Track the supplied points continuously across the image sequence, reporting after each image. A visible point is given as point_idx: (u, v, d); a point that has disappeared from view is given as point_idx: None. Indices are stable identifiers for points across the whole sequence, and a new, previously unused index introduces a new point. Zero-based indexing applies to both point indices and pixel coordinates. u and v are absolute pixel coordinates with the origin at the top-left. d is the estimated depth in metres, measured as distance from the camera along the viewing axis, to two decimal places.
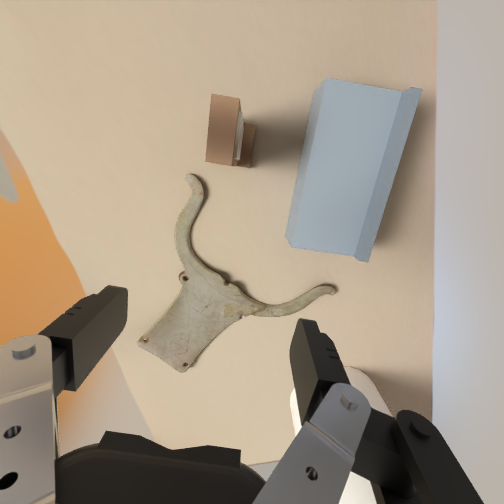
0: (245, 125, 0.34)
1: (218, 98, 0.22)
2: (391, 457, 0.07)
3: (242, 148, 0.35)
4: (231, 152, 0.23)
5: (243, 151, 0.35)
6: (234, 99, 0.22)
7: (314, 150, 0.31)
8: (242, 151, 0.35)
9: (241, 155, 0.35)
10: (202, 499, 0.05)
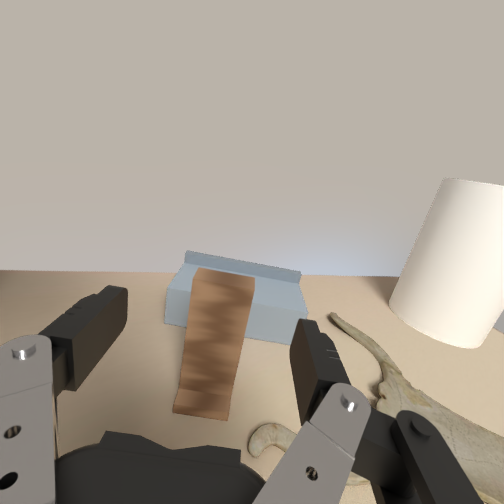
0: None
1: (197, 275, 0.23)
2: (391, 457, 0.07)
3: None
4: (243, 276, 0.25)
5: None
6: (199, 269, 0.24)
7: None
8: None
9: None
10: (202, 499, 0.05)
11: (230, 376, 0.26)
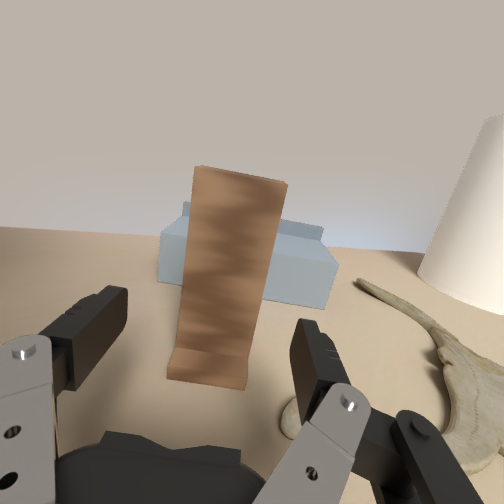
0: None
1: (201, 167, 0.15)
2: (391, 457, 0.07)
3: None
4: (267, 178, 0.17)
5: None
6: (203, 166, 0.17)
7: None
8: None
9: None
10: (202, 499, 0.05)
11: (247, 327, 0.18)
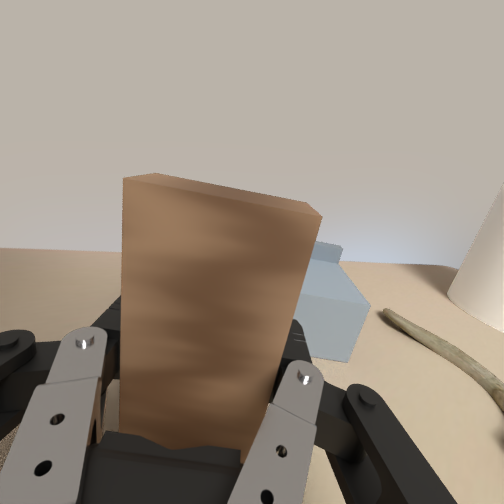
0: None
1: (142, 178, 0.07)
2: (339, 425, 0.08)
3: None
4: (276, 197, 0.09)
5: None
6: (155, 174, 0.09)
7: None
8: None
9: None
10: (202, 499, 0.05)
11: None
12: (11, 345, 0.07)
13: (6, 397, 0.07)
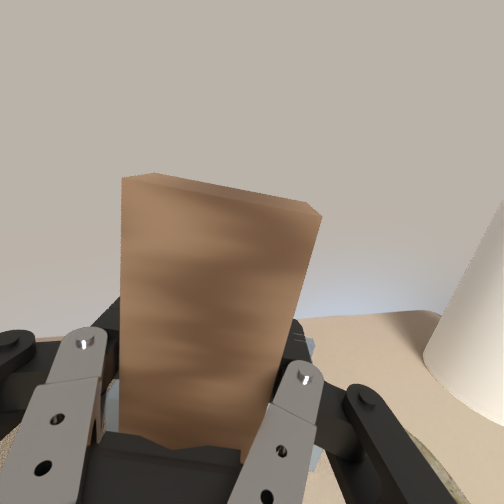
0: None
1: (141, 178, 0.07)
2: (339, 425, 0.08)
3: None
4: (275, 197, 0.09)
5: None
6: (154, 174, 0.09)
7: None
8: None
9: None
10: (202, 499, 0.05)
11: None
12: (11, 345, 0.07)
13: (6, 397, 0.07)
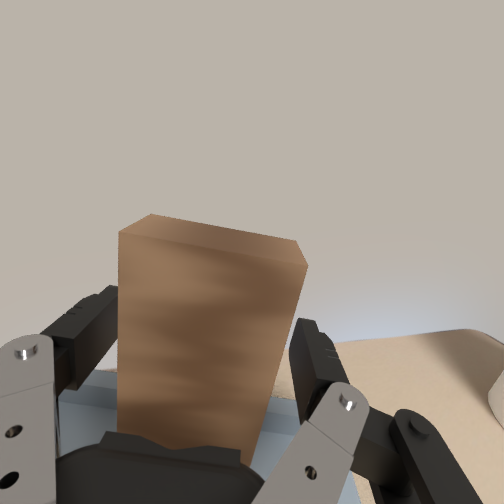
0: None
1: (137, 227, 0.08)
2: (389, 456, 0.07)
3: None
4: (266, 236, 0.10)
5: None
6: (150, 217, 0.09)
7: None
8: None
9: None
10: (202, 499, 0.05)
11: None
12: None
13: None
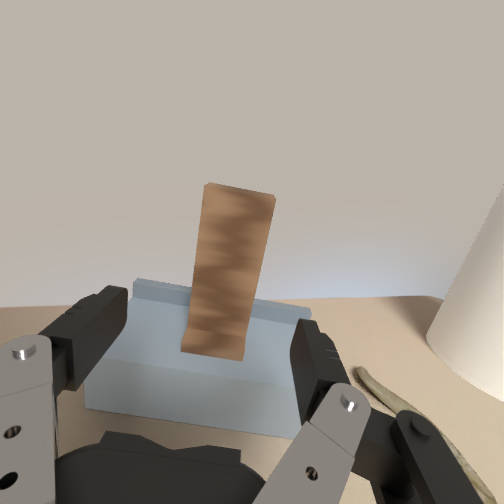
0: None
1: (209, 185, 0.20)
2: (391, 457, 0.07)
3: None
4: None
5: None
6: (210, 183, 0.21)
7: (179, 365, 0.21)
8: None
9: None
10: (202, 499, 0.05)
11: (245, 311, 0.23)
12: None
13: None
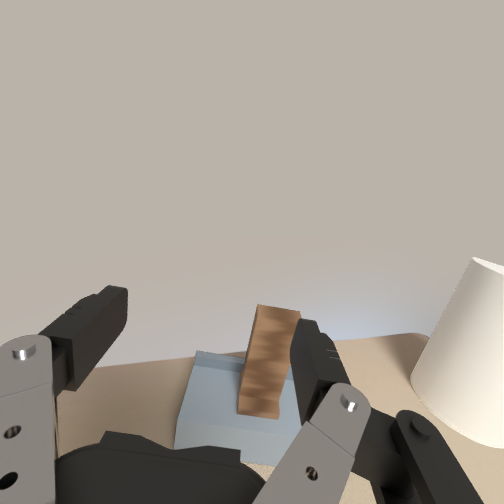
0: (241, 378, 0.37)
1: (259, 312, 0.31)
2: (391, 457, 0.07)
3: None
4: (291, 310, 0.33)
5: None
6: (258, 306, 0.32)
7: (238, 425, 0.32)
8: None
9: None
10: (202, 499, 0.05)
11: (279, 385, 0.34)
12: None
13: None
